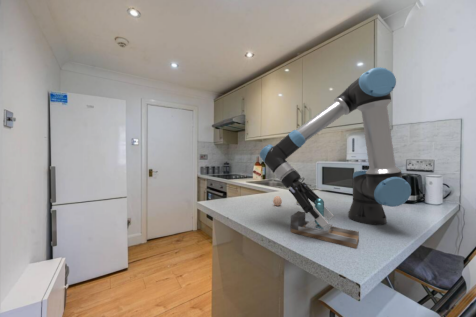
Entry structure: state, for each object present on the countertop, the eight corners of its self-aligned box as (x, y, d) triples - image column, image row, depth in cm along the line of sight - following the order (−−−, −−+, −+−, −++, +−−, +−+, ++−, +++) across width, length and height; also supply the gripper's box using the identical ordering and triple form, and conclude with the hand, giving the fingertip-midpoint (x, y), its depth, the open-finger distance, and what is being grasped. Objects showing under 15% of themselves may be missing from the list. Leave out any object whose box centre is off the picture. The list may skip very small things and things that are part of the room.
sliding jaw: (305, 230, 73) (305, 198, 73) (310, 225, 79) (311, 195, 79) (328, 235, 68) (328, 201, 68) (332, 229, 74) (332, 198, 74)
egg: (276, 204, 120) (276, 194, 120) (283, 205, 117) (283, 196, 117) (271, 205, 117) (271, 195, 117) (278, 207, 113) (278, 197, 113)
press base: (290, 232, 76) (290, 215, 76) (298, 226, 82) (298, 211, 82) (356, 248, 63) (356, 228, 63) (358, 239, 69) (359, 221, 69)
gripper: (291, 179, 91) (327, 219, 82) (269, 184, 74) (312, 236, 64) (302, 168, 88) (341, 209, 79) (283, 171, 70) (330, 224, 61)
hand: (328, 221), depth 72 cm, fingers open, 9 cm apart
